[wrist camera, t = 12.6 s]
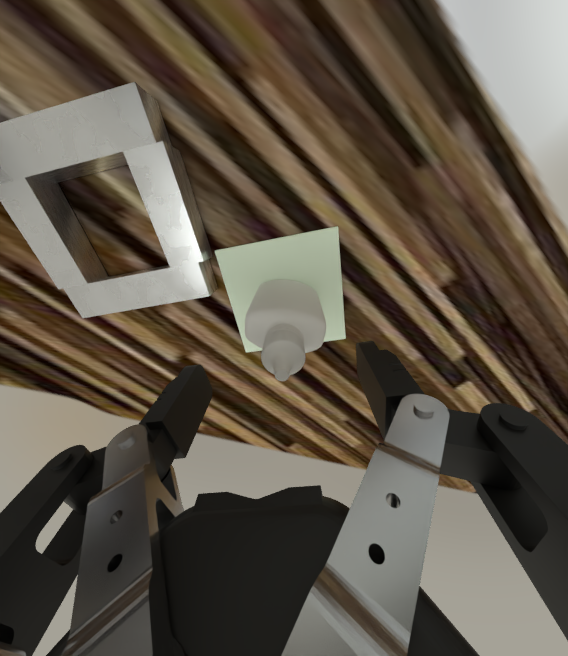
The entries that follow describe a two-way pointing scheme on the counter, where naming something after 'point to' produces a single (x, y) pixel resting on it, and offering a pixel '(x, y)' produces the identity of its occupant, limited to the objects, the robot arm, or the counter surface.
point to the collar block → (91, 157)
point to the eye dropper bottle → (285, 325)
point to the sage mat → (286, 274)
